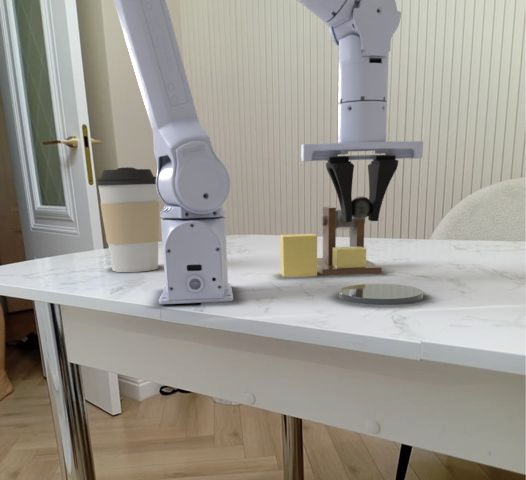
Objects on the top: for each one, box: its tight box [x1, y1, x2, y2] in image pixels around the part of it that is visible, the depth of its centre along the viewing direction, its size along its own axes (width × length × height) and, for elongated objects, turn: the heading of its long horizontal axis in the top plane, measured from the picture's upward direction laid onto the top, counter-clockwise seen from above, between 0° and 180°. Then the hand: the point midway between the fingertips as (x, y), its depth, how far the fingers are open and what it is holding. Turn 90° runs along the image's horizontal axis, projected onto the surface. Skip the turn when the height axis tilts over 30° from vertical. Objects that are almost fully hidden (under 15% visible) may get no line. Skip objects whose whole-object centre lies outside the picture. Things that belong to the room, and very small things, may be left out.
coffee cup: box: [96, 166, 160, 273], centre depth 89 cm, size 9×9×15 cm
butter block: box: [332, 246, 367, 268], centre depth 81 cm, size 3×4×2 cm
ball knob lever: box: [336, 195, 372, 231], centre depth 78 cm, size 13×3×3 cm, turn 5°
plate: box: [338, 283, 424, 306], centre depth 64 cm, size 9×9×1 cm
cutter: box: [317, 206, 382, 277], centre depth 84 cm, size 12×8×9 cm, turn 5°
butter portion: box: [280, 233, 318, 278], centre depth 79 cm, size 3×4×6 cm, turn 95°
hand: (360, 221), depth 74 cm, fingers closed on ball knob lever, 3 cm apart
